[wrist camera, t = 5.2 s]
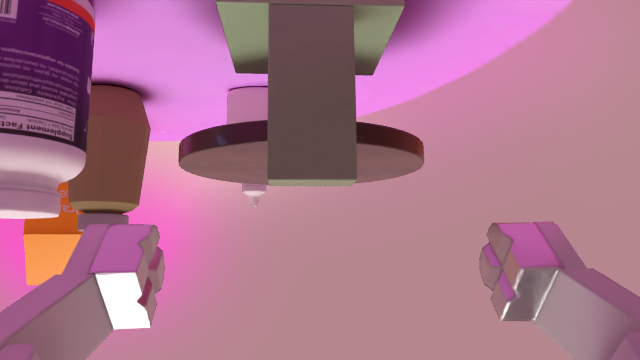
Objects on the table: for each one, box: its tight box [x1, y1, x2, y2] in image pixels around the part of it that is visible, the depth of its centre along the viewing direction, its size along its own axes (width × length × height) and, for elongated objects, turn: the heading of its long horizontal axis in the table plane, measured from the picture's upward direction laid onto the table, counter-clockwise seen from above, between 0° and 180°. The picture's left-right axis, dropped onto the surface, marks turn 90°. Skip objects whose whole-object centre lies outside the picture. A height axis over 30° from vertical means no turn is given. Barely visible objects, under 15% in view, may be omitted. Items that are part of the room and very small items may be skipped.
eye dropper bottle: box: [227, 87, 268, 207], centre depth 50 cm, size 4×6×12 cm
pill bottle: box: [0, 0, 95, 219], centre depth 30 cm, size 8×8×14 cm
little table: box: [179, 120, 424, 185], centre depth 33 cm, size 16×16×11 cm
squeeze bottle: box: [68, 85, 150, 232], centre depth 49 cm, size 8×8×18 cm
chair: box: [215, 0, 405, 186], centre depth 24 cm, size 8×8×14 cm
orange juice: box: [24, 181, 85, 285], centre depth 58 cm, size 8×9×20 cm
